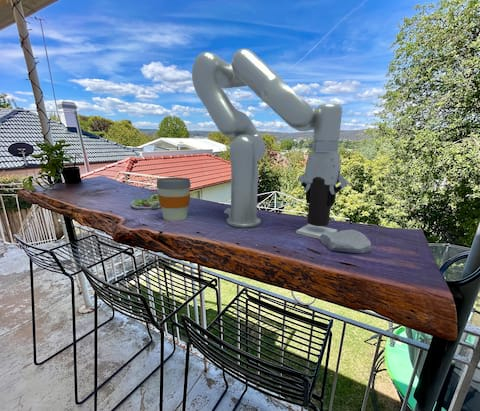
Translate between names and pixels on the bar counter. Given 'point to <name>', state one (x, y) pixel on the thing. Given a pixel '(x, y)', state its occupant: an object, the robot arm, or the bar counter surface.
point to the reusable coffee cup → (174, 197)
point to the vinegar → (318, 203)
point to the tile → (314, 230)
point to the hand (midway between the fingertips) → (319, 203)
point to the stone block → (346, 241)
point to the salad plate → (147, 203)
